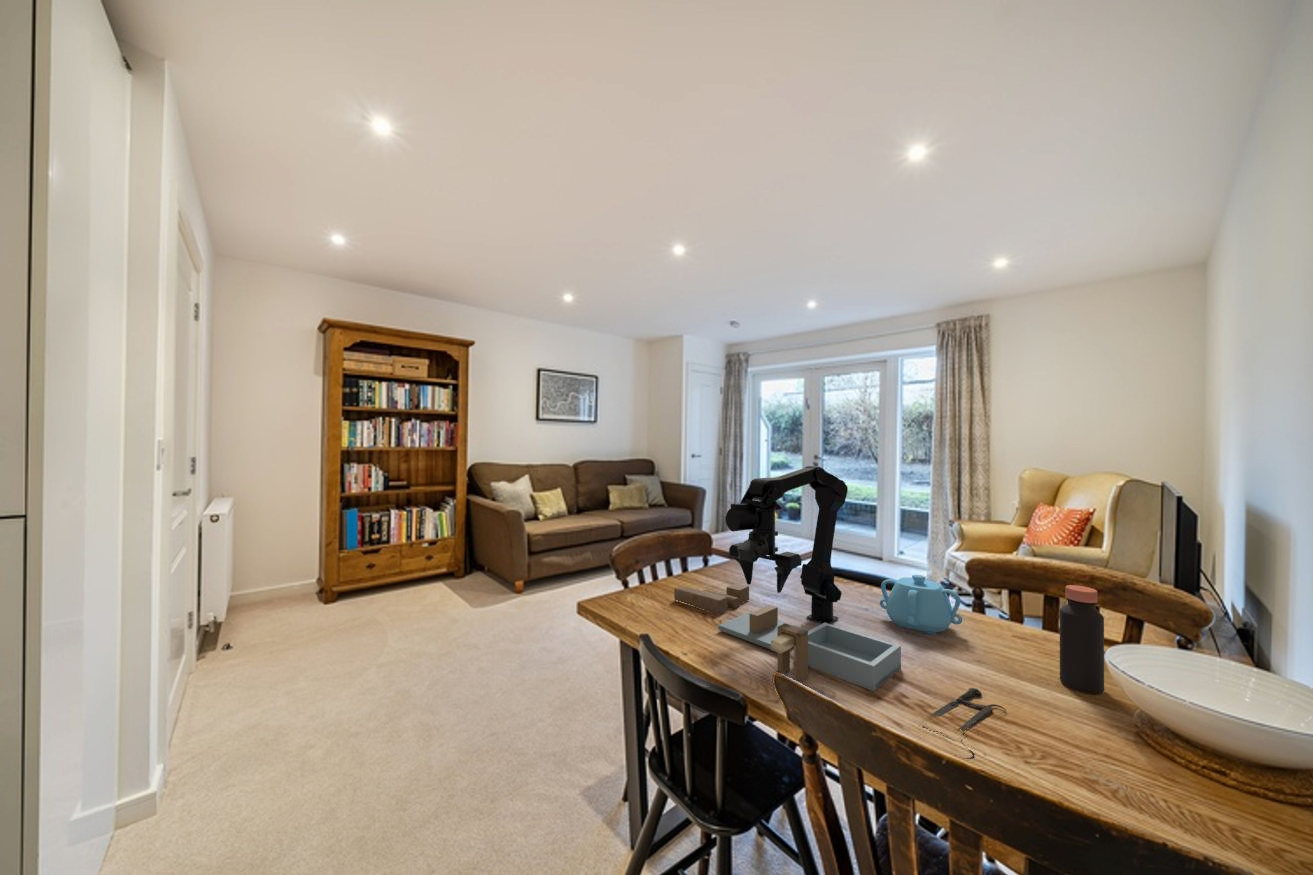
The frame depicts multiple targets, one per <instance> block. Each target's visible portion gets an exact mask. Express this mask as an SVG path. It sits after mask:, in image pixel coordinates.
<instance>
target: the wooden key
mask: <svg viewBox="0 0 1313 875" xmlns="http://www.w3.org/2000/svg"><path fill="white" fill-rule="evenodd" d="M794 646H795V636H793V635H790V634H787V633H784V634H782V635H780V636H778V637H776V638H774V639H772V640H771V649H770V651H773V652H775V653H777V652H778V653H780V654H781V653H783V652H785V651H787V650H788V649H790V650H791V649H792V648H794Z"/></svg>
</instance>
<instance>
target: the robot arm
mask: <svg viewBox="0 0 1313 875" xmlns="http://www.w3.org/2000/svg"><path fill="white" fill-rule="evenodd" d="M749 482H750V483H749V485H748V488H747V490H746V491H745V493H744V495H743V497H742V499H740V503H734V502H733V503H731V504H730V508H729V509H728V510H727V512H726V515H725V523H726V527H727V528H728V529H729V531H730V532H741V531H749V533H748V539H746V540H744V541H743V542H738V543H734V544H731V545H730V546H729V548H728V556H730V557H732V559H733V560H735V561H736V562H737V563H738V564H739V565H740V567H741V570H742V573H743V575H744V578H745V581H746V584H747V586H750V585H751V584H752V580H753V571H754V563H756V562H757V561H758V559H764V560H768V561H773V562H774V563H775V565H776V566H775V567H774V570H775V572H776V592H777V593H778V594H780V593H781V592H782V590H783V588H784V587H785V584H786V582H787V579H788V578H789V575H790V574H791V572H792V571H793V570H794V569H796V568H797V567H800V566H802V567H801V574H800V577H799V578H800V580H801V581H800V584H801V586H802V587H803V590H804V594H805V595H809V596H810V597H811V604H810V605H811V608H810V610H811V612H810V614H809V615H807V616H806V619H808V620H811V621H814V622H816V623H819V624H823V623H828V624H832V623H834V622H836V621H837V620H839V617H838V616H837V615H834V603H838V601H840V600H841V598H842V591H841V590H840V589H839V587H838V586H837V585H836V584H835V573H834V570H833V568H832V564H831V557H832V552H833V544H834V538H835V532H836V531H835V530H836V523H837V516H838V512H839V511H840V509H841V508H842V506H843V505H844V504H845V503H846V499H847V496H848V490H849V489H848V485H847V484H846V482H845V481H844V480H842V479H840V478H839V477H838V476H835V475H833V474H831V473H830V472H828V471H826V469H824V468H823V467H821V466H816V465H806V466H805V467H804V468H801V469H797V470H794V471H791V472H788V473H785V474H782V475H779V476H776V477H760V478H757V477H756V478H754V479H752V480H751V481H749ZM807 485H809V487H810V488H811V489H812V490H814V499H815V502H816V505H817V507H818V513H817V518H816V526H815V533H814V539H813V546H812V551H811V552H812V553H811V557H810V558H811V559H810V560H809V561H808V562H807V564H806V563H803V564H802V557H801V555H800V554H799V553H796V552H790V551H784V552H781V553H777V552H779V547H778V546H776V537H777V536H779V531H776V511H781V510H782V506H781V505H780V504H779V503H778V502H777V501H778V500H779V499H782V498H783V496H784V495H785V493H788V491H789V492H790V491H792V490H795V489H798V488H801V487H803V486H807Z"/></svg>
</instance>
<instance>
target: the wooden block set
mask: <svg viewBox="0 0 1313 875" xmlns="http://www.w3.org/2000/svg"><path fill="white" fill-rule="evenodd" d="M673 597H674V599H675V600H678V601H681V602H684V603H687V604H690V605H693V606H695V607H698V608H701V609H704V610H706V611H705V612H707V611H709V612H708V613H711V612H712V614H714V613H715V614H714V615H717V614H720V615H721V614H724V613H726V612H728V608H733V609H737V607H738V608H739V606H740V605H741V603H742V604H744V603H746V602H748V601H750V585H745V584H738V583H737V584H736V583H731V584H729V585H727V586H726V594H725V593H722V592H717V591H714V590H710V589H706V588H705V589H703V590H699V589H698V588H697V589H696V588H692V587H690V586H689V587H688V586H678V587H675V588H674V596H673ZM674 599H673V600H674ZM675 600H674V601H675ZM747 600H748V601H747ZM745 601H746V602H745ZM743 602H744V603H743ZM693 606H692V607H693ZM704 610H703V611H704ZM725 611H726V612H725Z"/></svg>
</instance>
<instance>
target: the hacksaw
mask: <svg viewBox="0 0 1313 875" xmlns="http://www.w3.org/2000/svg"><path fill="white" fill-rule="evenodd" d="M980 697H982V692H981V691H980V690H979V689H977V688H975V687H970V688H968V690H967V691H966V692H964V694H962V695H960V696H958V697H957V698H956V699H955V701H954V700H951V701H949V703H946V704H945V705H943V706H942V707H940V708H938V709H937V710H936V711H933V712H932V713H931V714H930V716H931V717H932V716H933V717H941V716H943V715H944V714H946V713H947V712H950V711H951V710H953V709H954V708H956V707H957V706H959V705H960V704H963V705H965V706H967V707H971V708H974V709H979V711H978V712H977V713H975V714H974V715H973V716H972V717H971V718H970V719H968V720H967V721H966V722H965V723H964V724H962V725H961V726H960V727H959V728H958V729H957V731H959V730H960V729H961V730H962V731H963V732H964V731H965V730H967V728H970V727H971V728H973V727H974V726H976V723H977V724H978V723H979V721H980V722H982V721H983V719H985V718H986V717H987V716H988V715H990V714H991V713H993V711H994V710H993V707H997V708H1001V709H1003V712H1002V714H1004V713H1006V711H1007V710H1006V708H1004V707H1003V706H1001V705H998V704H995V703H993V704H987V705H986V704H980V703H979V704H978V703H974V702H971V701H969V700H971V699H975V698H980ZM973 725H974V726H973ZM918 726H919V727H920V726H921V724H918ZM921 728H923V729H924V728H926V729H925V730H927V729H928V727H926V726H925V725H923V726H921ZM971 728H970V729H971ZM931 730H932V729H930V730H928V731H929V732H931ZM935 731H936V732H938V731H937V730H934V731H933V732H932V733H934V732H935ZM957 731H956V732H957ZM939 732H940V731H939ZM940 733H941V734H942V733H943V732H940ZM941 734H940V735H941ZM944 734H945V733H944ZM964 734H965V735H966V733H964ZM945 735H947V734H945ZM942 736H943V737H945V736H944V735H942ZM970 751H971V752H972V753H971V752H970ZM970 751H969V752H970V753H971V756H970V757H962V756H960V757H959V758H961V757H962V758H961V759H965V760H973V759H974V758H975V757H974V755H975V756H976V754H975V752H974V751H973V750H972V749H970ZM972 755H973V756H972ZM954 757H957V755H956V754H954Z"/></svg>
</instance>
